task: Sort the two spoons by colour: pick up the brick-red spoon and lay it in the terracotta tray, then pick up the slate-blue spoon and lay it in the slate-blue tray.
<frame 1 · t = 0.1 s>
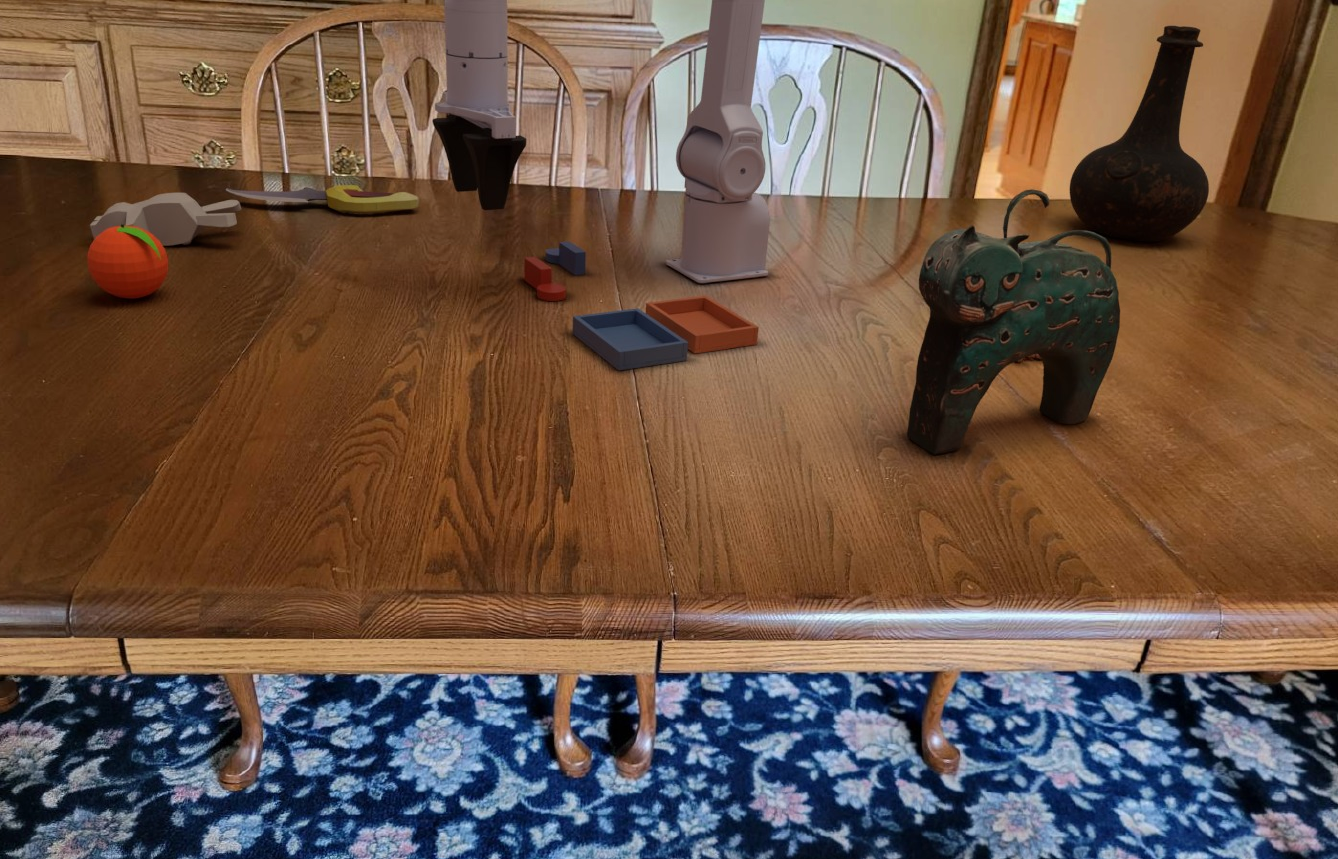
hand: (479, 199, 104), 10 cm above the table, tool pointing down, fingers open, 7 cm apart
key: (994, 335, 108), on the table
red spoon: (542, 289, 112), on the table
blue tray: (628, 346, 98), on the table
ceramic cat: (993, 431, 87), on the table
knife: (320, 208, 136), on the table
red tray: (699, 331, 103), on the table
blue spoon: (567, 266, 120), on the table
glass bottle: (1126, 235, 151), on the table
bunny figurine: (171, 243, 119), on the table
clementine: (138, 299, 102), on the table
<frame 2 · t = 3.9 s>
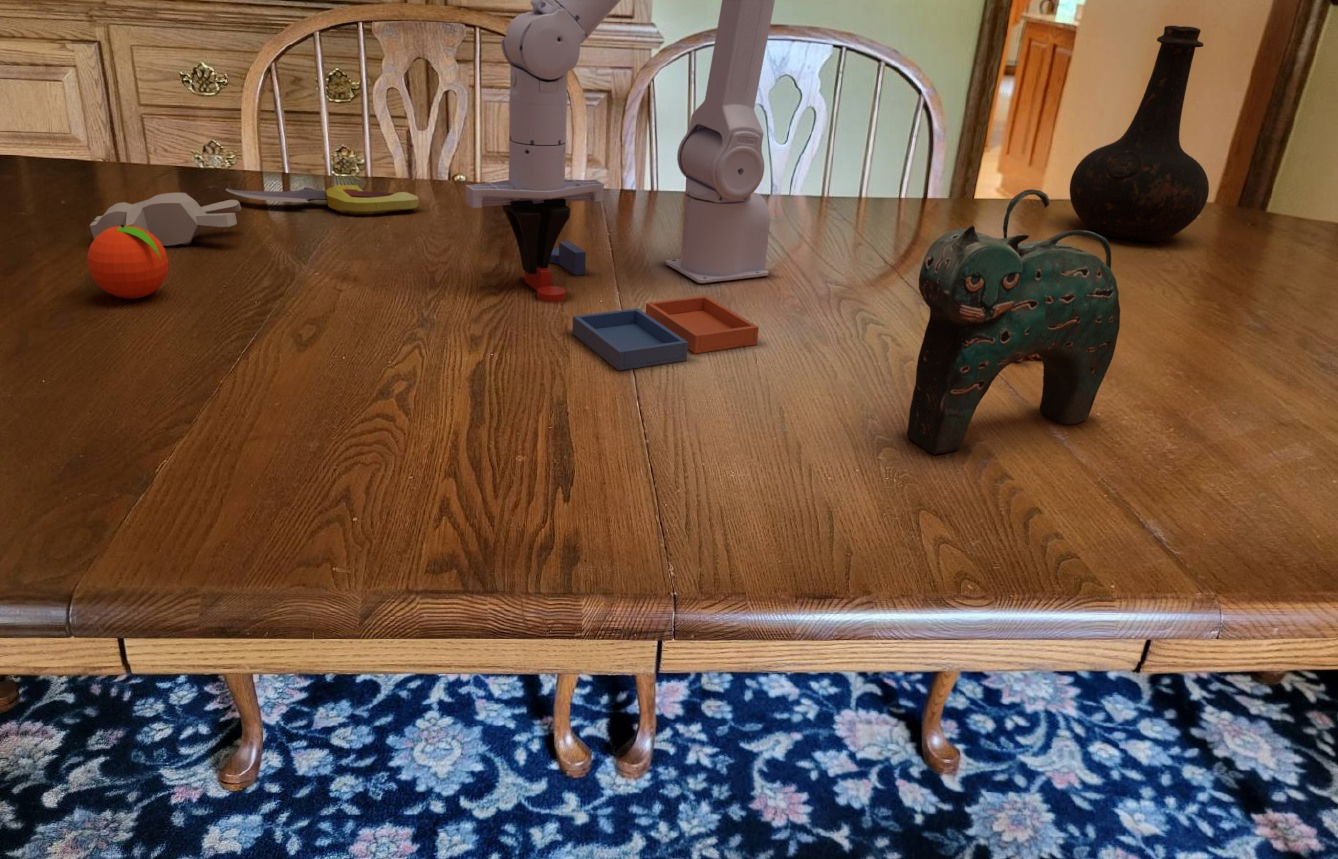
hand: (534, 270, 112), 2 cm above the table, tool pointing down, fingers closed on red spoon
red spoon: (542, 292, 112), on the table, touching gripper
everything else where it was.
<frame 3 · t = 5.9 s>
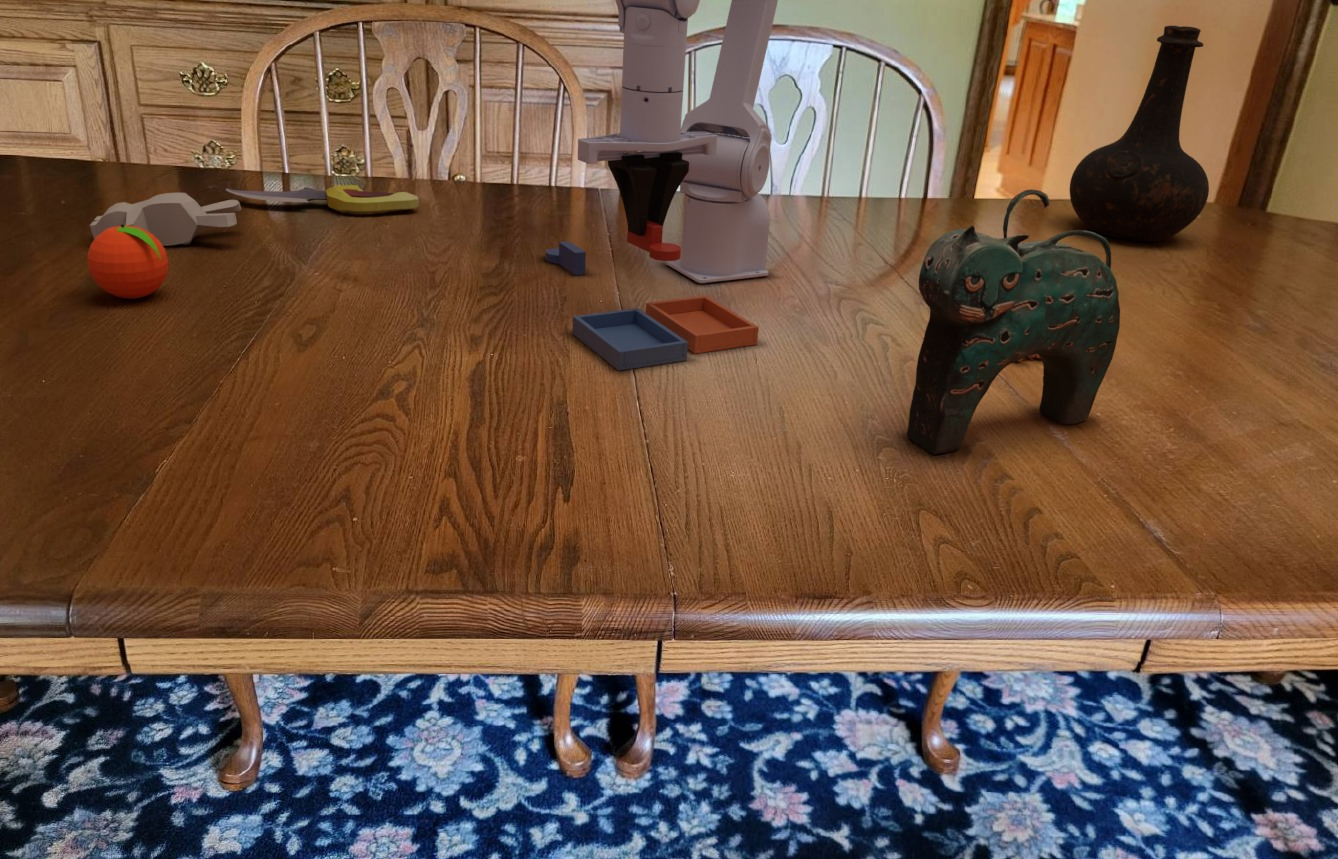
hand: (644, 232, 103), 8 cm above the table, tool pointing down, fingers closed on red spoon
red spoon: (651, 250, 103), point 7 cm above the table, touching gripper
everything else where it was.
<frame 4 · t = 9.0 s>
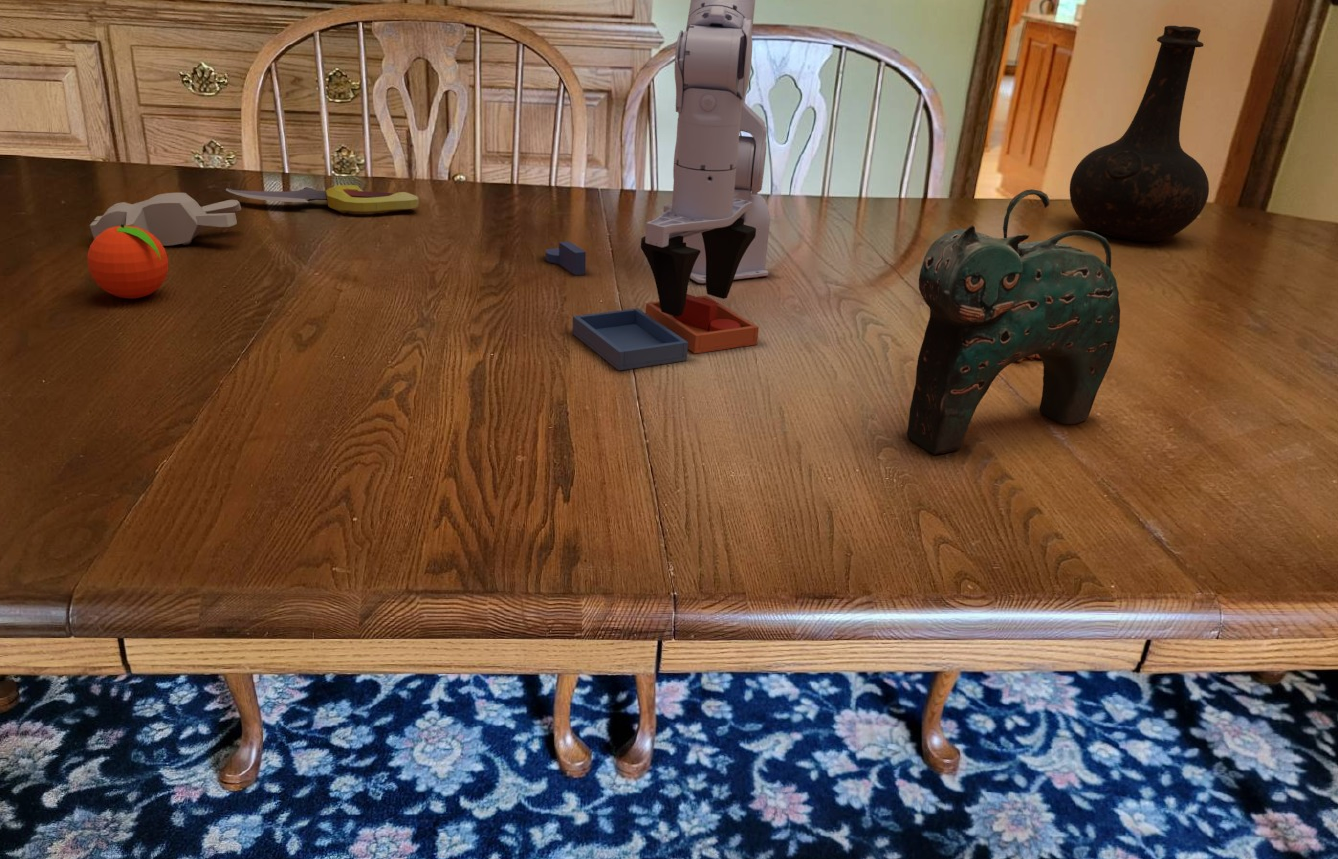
hand: (694, 304, 103), 2 cm above the table, tool pointing down, fingers open, 7 cm apart
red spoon: (704, 327, 103), resting on red tray
everything else where it was.
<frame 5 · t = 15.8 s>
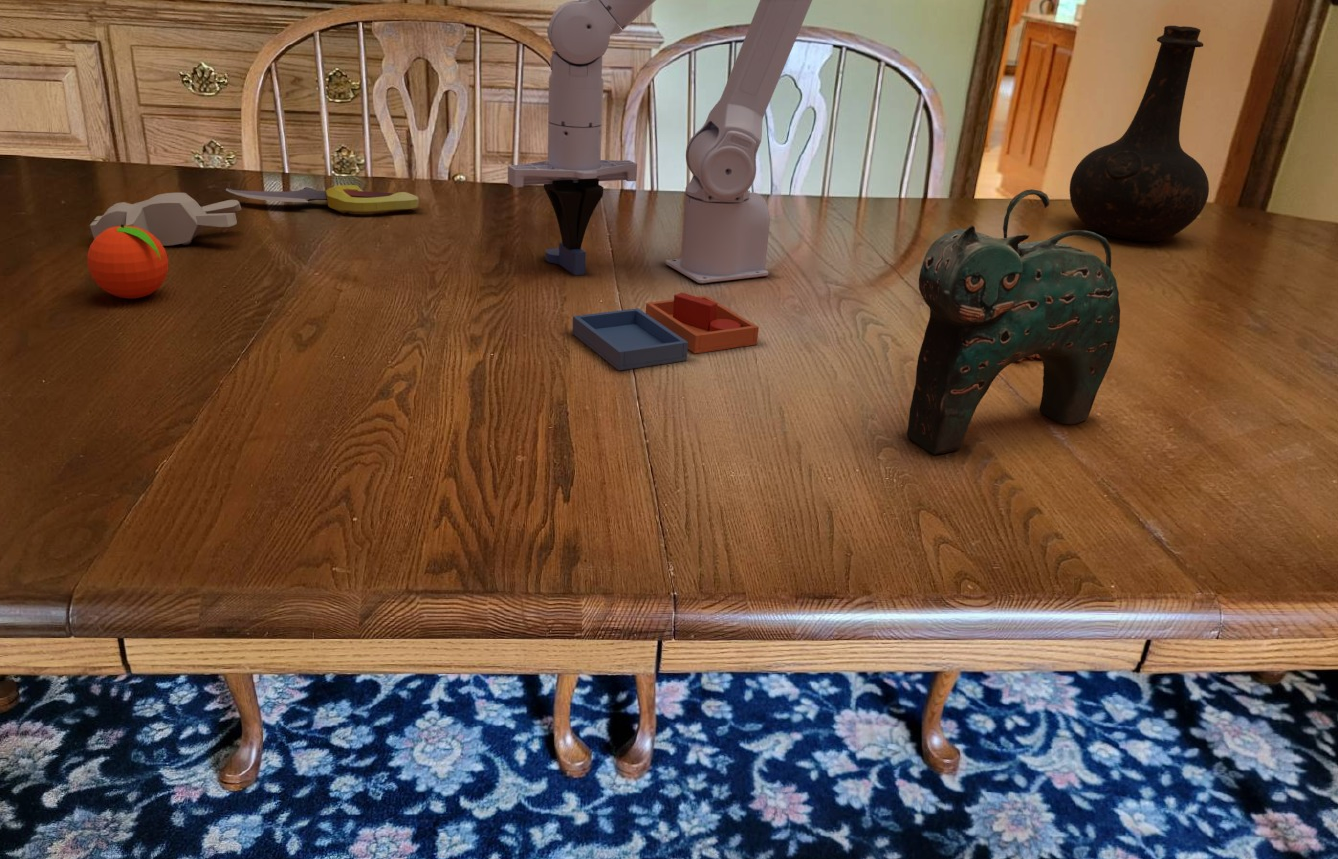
hand: (571, 247, 118), 3 cm above the table, tool pointing down, fingers closed, pressing on blue spoon
blue spoon: (567, 266, 120), on the table, touching gripper
everything else where it was.
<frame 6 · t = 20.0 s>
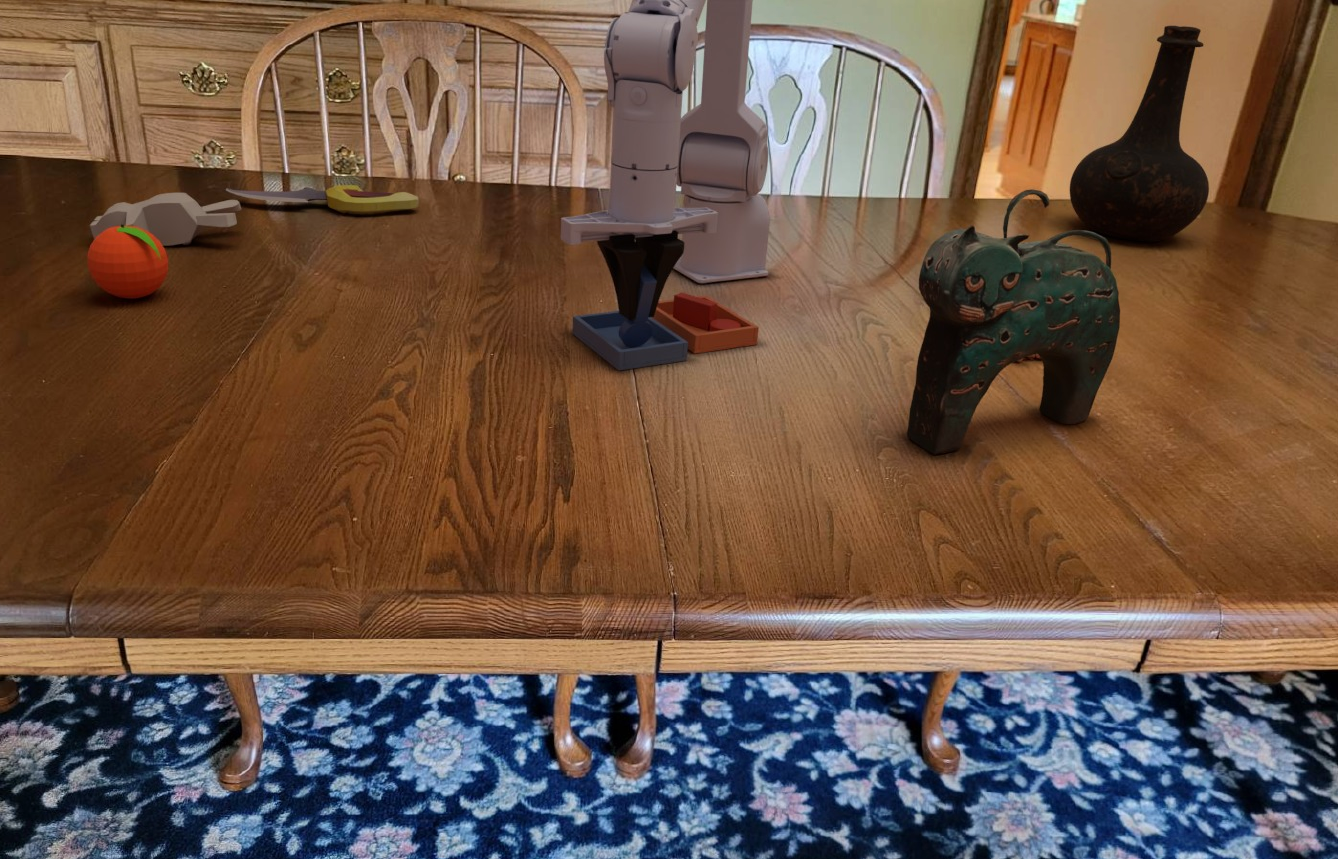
hand: (636, 315, 96), 4 cm above the table, tool pointing down, fingers closed on blue spoon
blue spoon: (642, 314, 94), point 4 cm above the table, tilted 72°, touching blue tray, gripper
everything else where it was.
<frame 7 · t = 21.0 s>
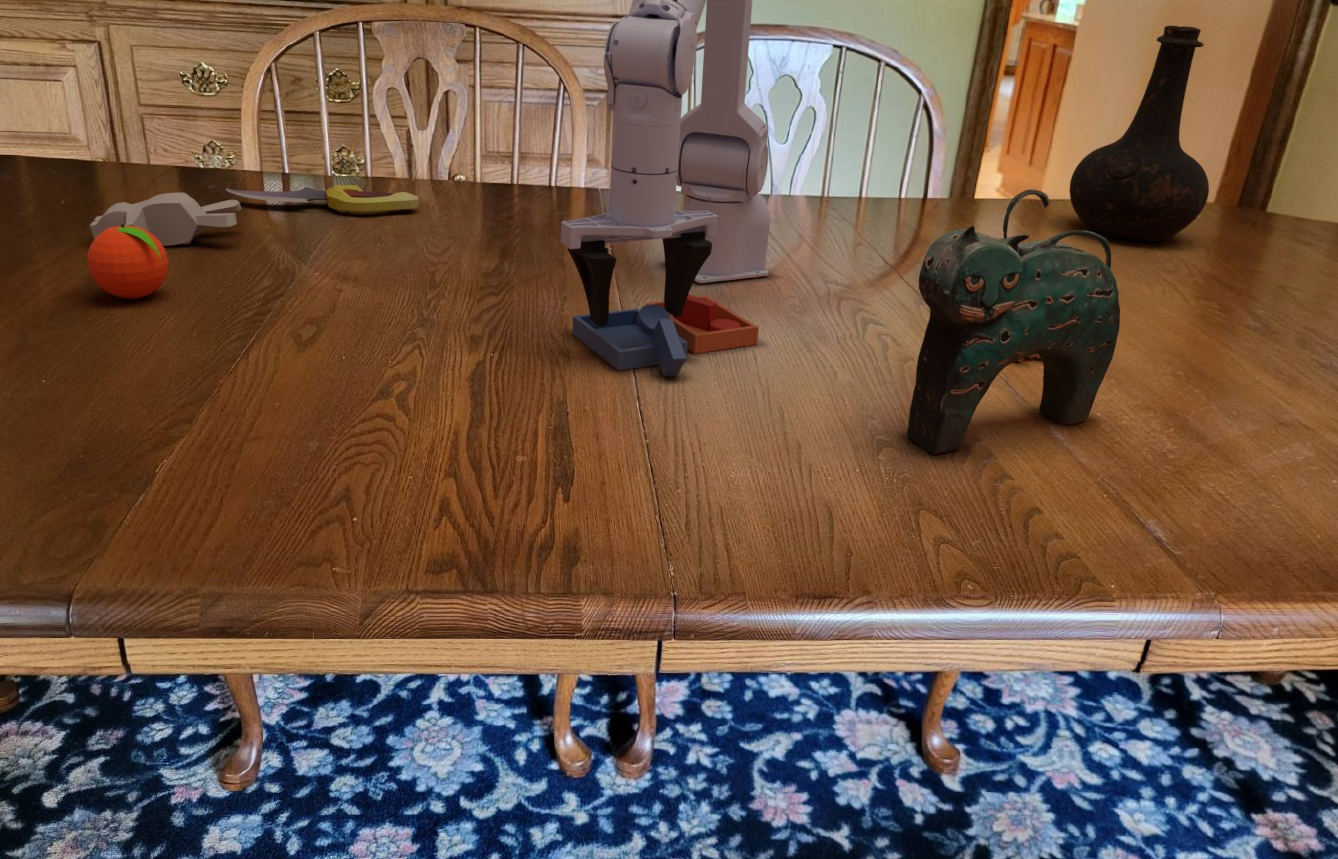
hand: (636, 317, 96), 3 cm above the table, tool pointing down, fingers open, 7 cm apart
blue spoon: (659, 345, 94), point 2 cm above the table, tilted 32°, touching blue tray
everything else where it was.
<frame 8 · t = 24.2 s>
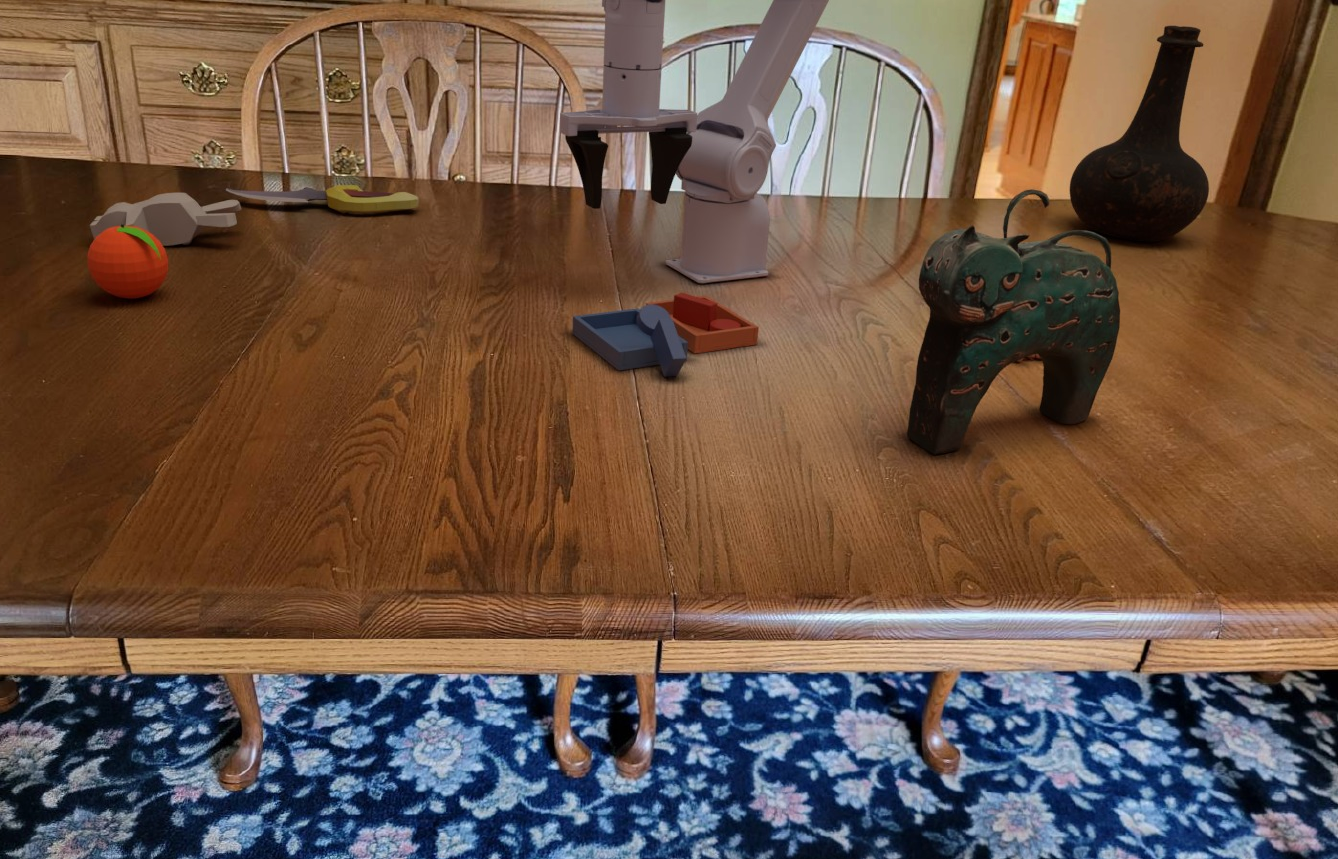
hand: (626, 204, 109), 9 cm above the table, tool pointing down, fingers open, 7 cm apart
nothing on the table moved.
at the end: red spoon inside the target area in the red tray (0.5 cm from its centre), point 0.4 cm above the red tray's base; blue spoon inside the target area in the blue tray (4.8 cm from its centre), point 1.9 cm above the blue tray's base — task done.
